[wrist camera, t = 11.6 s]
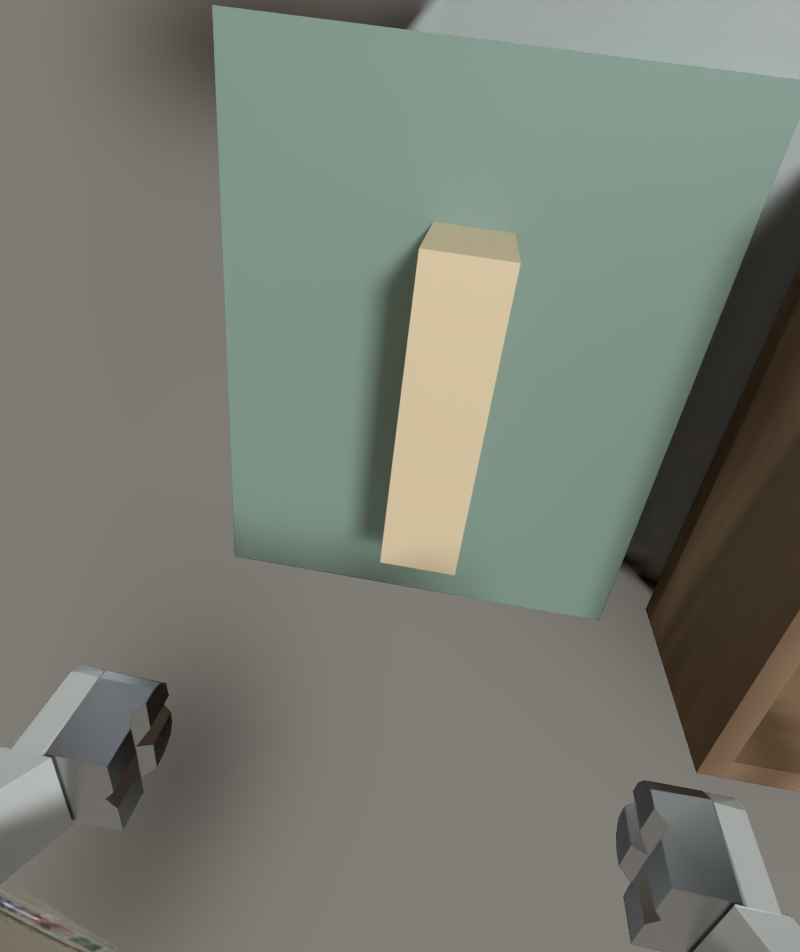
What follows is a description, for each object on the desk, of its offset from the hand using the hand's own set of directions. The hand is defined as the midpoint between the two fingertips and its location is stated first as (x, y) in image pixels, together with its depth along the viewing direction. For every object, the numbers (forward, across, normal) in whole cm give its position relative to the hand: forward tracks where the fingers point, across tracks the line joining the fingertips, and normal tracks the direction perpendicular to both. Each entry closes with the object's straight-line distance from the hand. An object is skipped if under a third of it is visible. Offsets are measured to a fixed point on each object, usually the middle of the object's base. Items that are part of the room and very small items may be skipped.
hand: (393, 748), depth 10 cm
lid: (+19, 0, 0) cm, 19 cm away
